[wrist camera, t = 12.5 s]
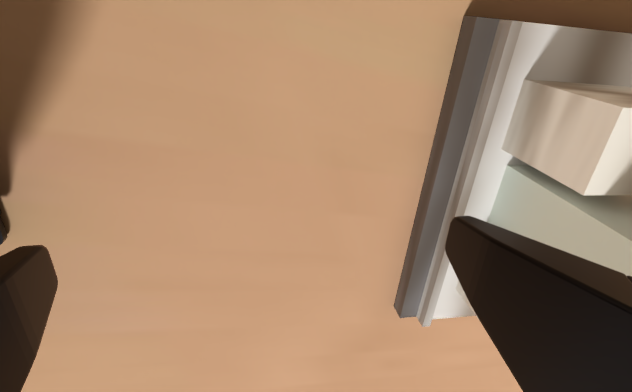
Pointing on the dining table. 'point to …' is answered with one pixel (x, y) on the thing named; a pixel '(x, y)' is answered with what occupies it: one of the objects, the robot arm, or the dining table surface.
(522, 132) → the rail board
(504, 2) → the dining table surface
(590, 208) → the block
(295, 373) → the dining table surface
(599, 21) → the dining table surface
